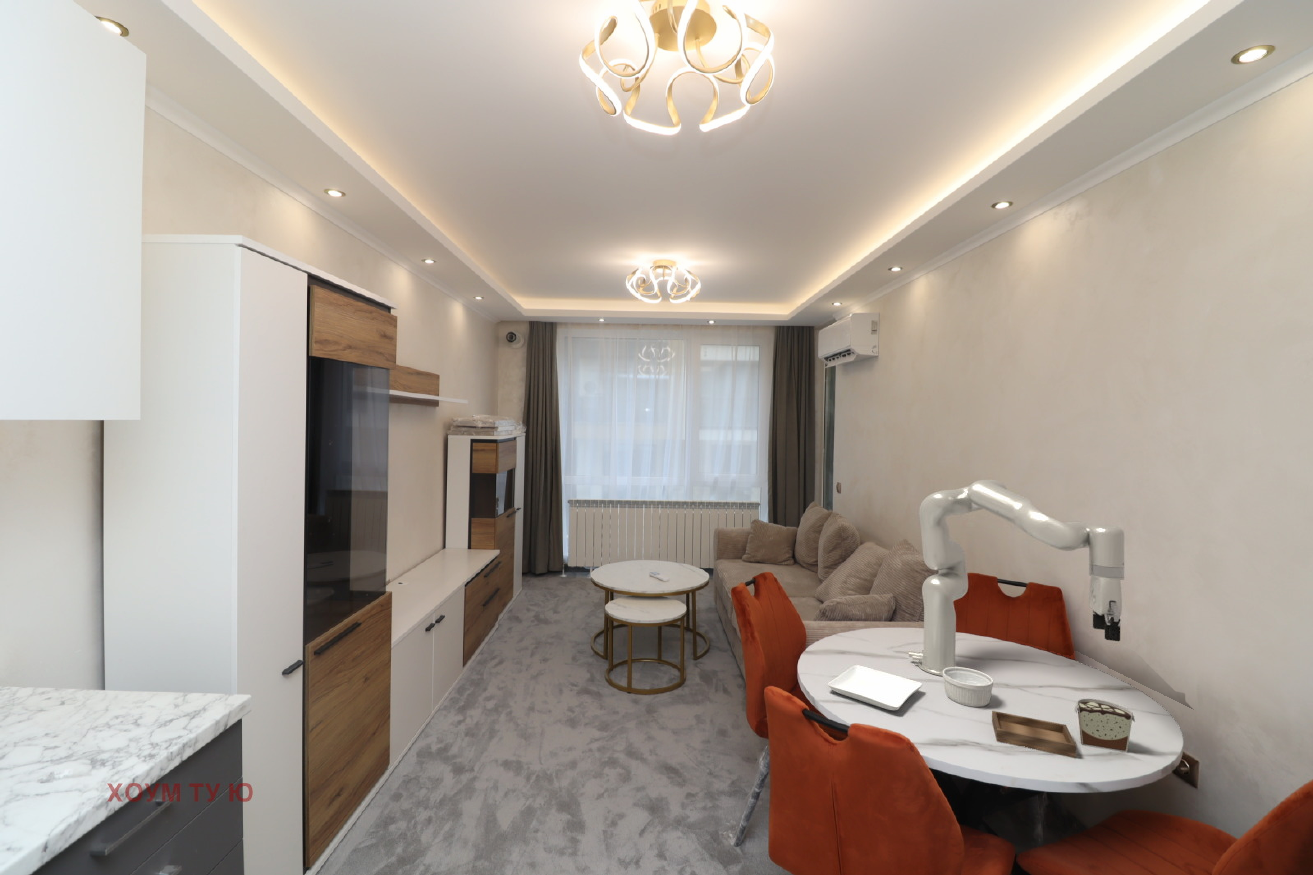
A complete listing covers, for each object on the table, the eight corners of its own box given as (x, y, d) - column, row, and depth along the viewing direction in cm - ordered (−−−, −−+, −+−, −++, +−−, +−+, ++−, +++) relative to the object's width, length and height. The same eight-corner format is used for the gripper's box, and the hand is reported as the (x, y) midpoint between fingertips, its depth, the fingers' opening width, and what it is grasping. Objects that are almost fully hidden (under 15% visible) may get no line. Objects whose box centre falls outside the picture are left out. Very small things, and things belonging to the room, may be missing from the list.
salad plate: (825, 694, 169) (825, 683, 169) (855, 673, 185) (855, 662, 185) (897, 719, 155) (898, 707, 155) (923, 694, 171) (923, 683, 171)
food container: (1123, 741, 145) (1123, 702, 145) (1134, 753, 139) (1135, 713, 139) (1066, 732, 149) (1067, 694, 149) (1075, 744, 143) (1076, 704, 143)
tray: (996, 741, 144) (997, 729, 144) (991, 721, 154) (992, 710, 154) (1076, 758, 137) (1076, 745, 137) (1065, 736, 147) (1065, 724, 147)
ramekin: (932, 693, 171) (932, 670, 171) (962, 686, 176) (963, 663, 176) (971, 713, 159) (972, 688, 159) (1003, 705, 164) (1003, 681, 164)
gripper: (1080, 564, 163) (1079, 623, 163) (1099, 577, 147) (1099, 642, 147) (1112, 566, 160) (1112, 626, 160) (1135, 580, 144) (1135, 647, 144)
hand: (1106, 634), depth 153 cm, fingers open, 9 cm apart
